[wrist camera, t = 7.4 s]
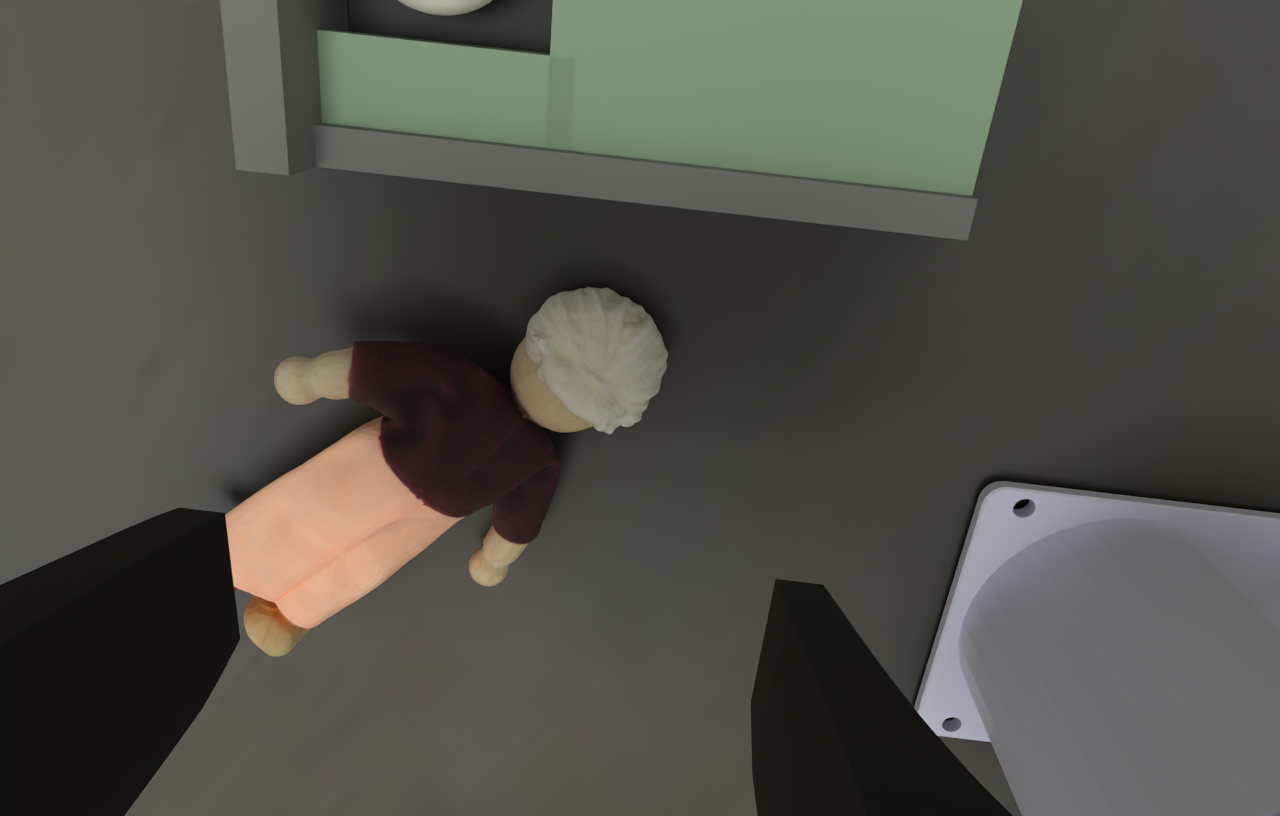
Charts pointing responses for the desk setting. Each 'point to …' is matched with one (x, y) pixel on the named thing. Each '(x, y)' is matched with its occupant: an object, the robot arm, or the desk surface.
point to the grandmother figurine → (433, 456)
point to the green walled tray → (646, 104)
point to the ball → (445, 6)
